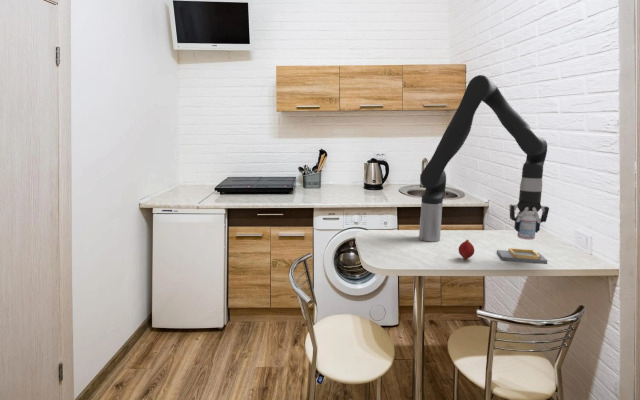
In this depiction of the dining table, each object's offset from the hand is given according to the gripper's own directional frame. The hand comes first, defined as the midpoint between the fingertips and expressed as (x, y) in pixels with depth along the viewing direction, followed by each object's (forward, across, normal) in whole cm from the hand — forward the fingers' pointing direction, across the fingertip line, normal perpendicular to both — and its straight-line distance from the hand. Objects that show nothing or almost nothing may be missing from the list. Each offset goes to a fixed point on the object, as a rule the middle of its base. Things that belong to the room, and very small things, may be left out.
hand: (526, 231), depth 157 cm
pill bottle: (+3, 0, 0) cm, 3 cm away
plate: (+11, -1, 0) cm, 11 cm away
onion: (+11, -23, -7) cm, 27 cm away
